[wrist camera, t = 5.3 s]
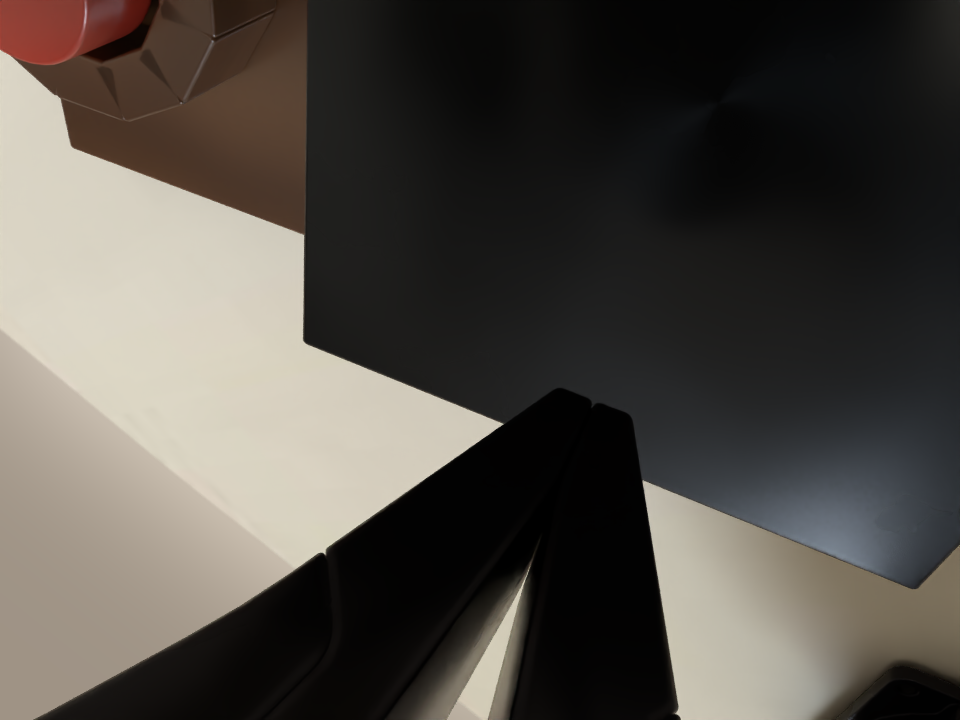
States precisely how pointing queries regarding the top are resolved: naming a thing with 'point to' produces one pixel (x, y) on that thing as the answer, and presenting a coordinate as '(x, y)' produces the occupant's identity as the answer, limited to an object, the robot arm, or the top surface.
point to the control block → (199, 102)
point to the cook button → (65, 27)
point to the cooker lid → (663, 238)
